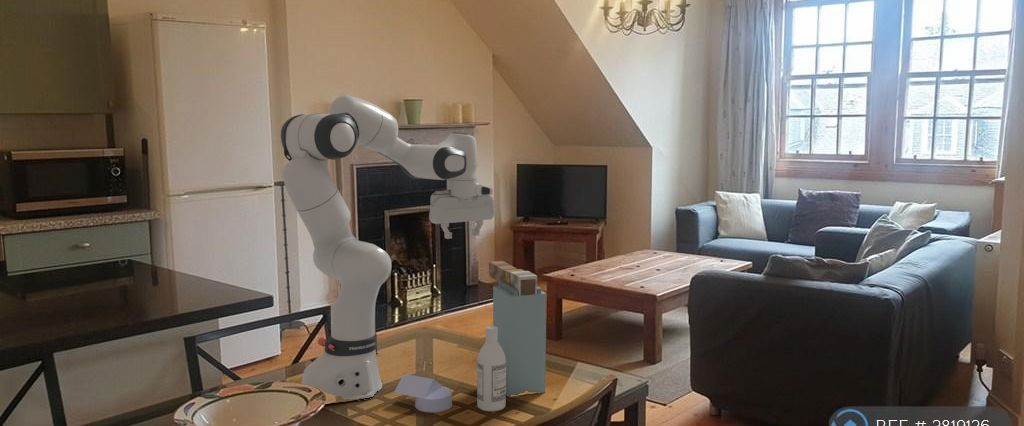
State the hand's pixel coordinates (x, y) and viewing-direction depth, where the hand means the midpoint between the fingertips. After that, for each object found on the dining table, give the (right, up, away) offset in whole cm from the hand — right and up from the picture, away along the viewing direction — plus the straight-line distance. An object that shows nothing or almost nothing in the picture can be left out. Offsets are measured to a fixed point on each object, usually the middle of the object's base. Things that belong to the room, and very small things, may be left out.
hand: (462, 237), depth 227 cm
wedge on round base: (-7, -40, -34) cm, 53 cm away
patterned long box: (+14, -12, -20) cm, 27 cm away
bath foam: (+9, -41, -35) cm, 55 cm away
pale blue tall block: (+16, -39, -22) cm, 47 cm away
